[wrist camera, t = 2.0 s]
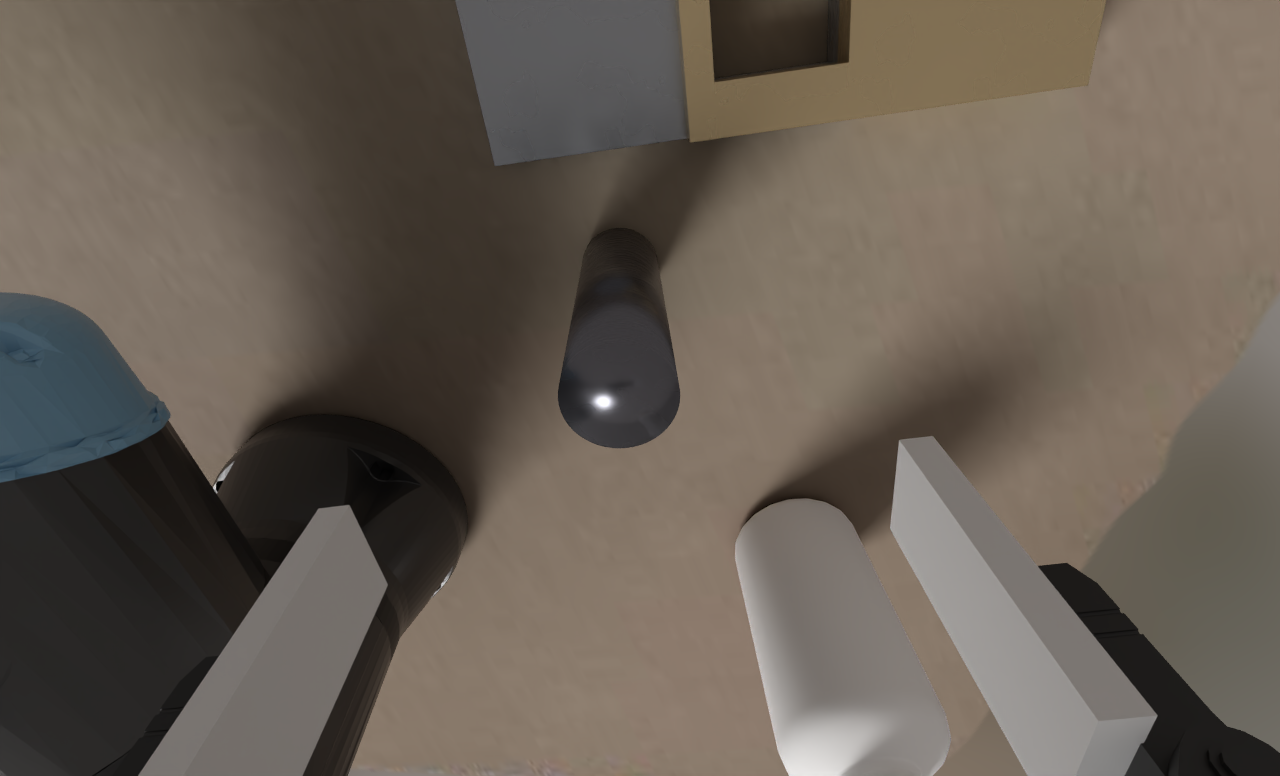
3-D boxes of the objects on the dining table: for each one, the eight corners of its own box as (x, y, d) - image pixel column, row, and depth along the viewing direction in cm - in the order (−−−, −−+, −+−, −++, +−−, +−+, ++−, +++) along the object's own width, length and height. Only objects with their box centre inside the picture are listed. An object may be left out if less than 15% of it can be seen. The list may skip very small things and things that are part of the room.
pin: (589, 305, 33) (570, 454, 20) (576, 233, 31) (546, 351, 19) (661, 295, 33) (685, 440, 20) (652, 223, 31) (673, 334, 18)
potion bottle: (711, 560, 42) (763, 857, 27) (769, 474, 39) (870, 760, 23) (810, 591, 44) (913, 886, 29) (874, 512, 41) (1033, 800, 25)
